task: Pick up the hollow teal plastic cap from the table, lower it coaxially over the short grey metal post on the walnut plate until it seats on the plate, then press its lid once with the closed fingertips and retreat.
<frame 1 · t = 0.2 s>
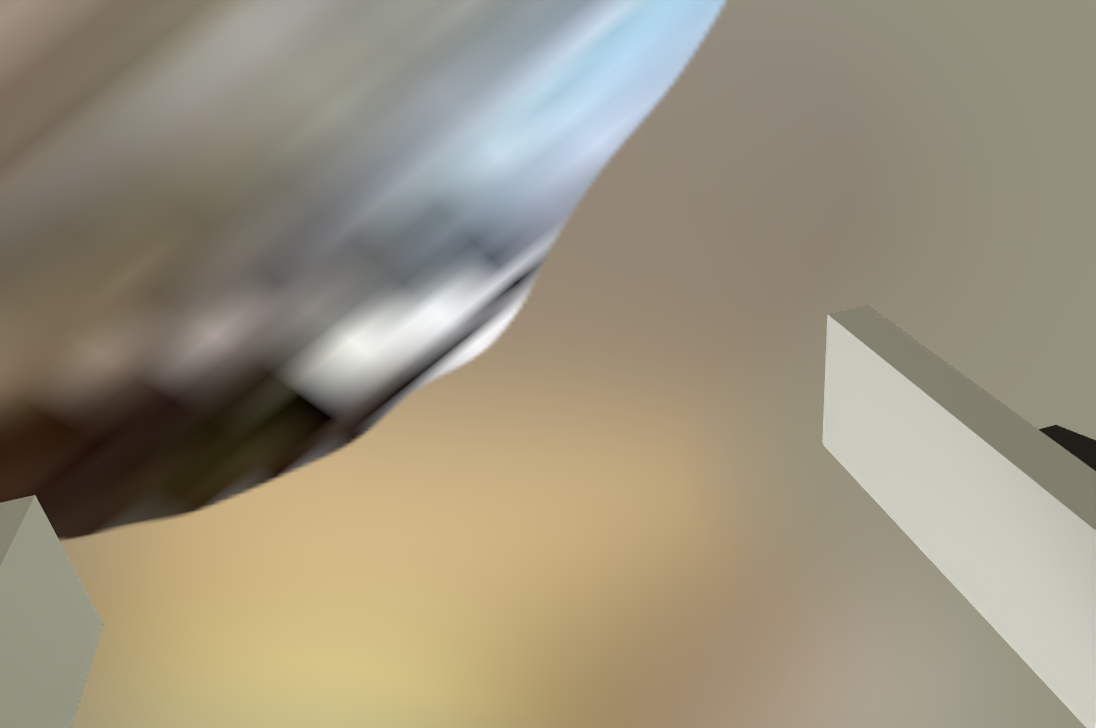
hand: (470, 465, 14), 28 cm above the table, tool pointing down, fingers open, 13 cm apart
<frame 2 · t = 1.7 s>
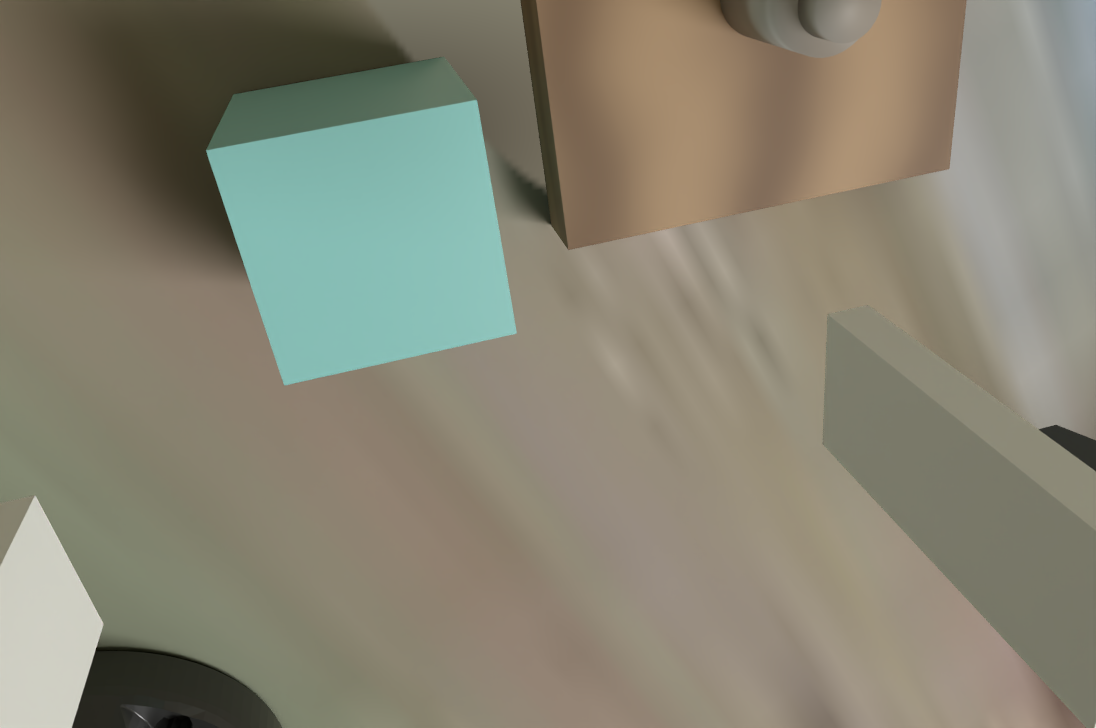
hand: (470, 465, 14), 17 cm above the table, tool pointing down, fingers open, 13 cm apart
cap: (365, 177, 29), on the table
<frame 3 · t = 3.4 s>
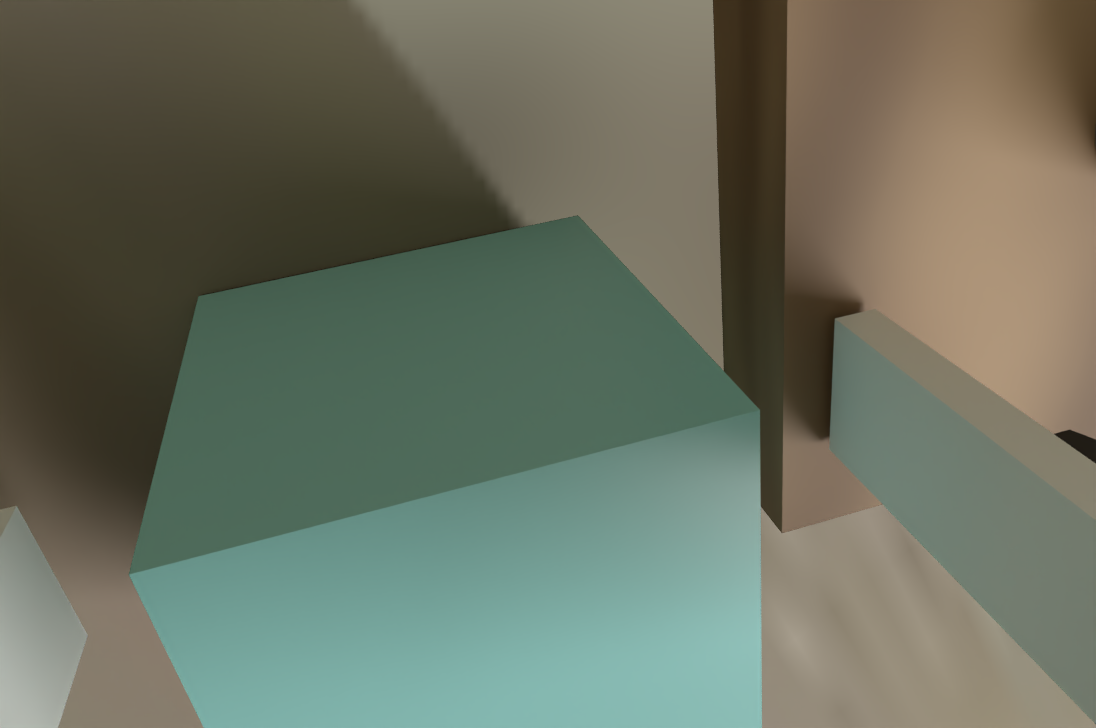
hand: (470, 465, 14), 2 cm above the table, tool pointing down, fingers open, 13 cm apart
cap: (431, 414, 16), on the table
stand: (1054, 78, 17), on the table
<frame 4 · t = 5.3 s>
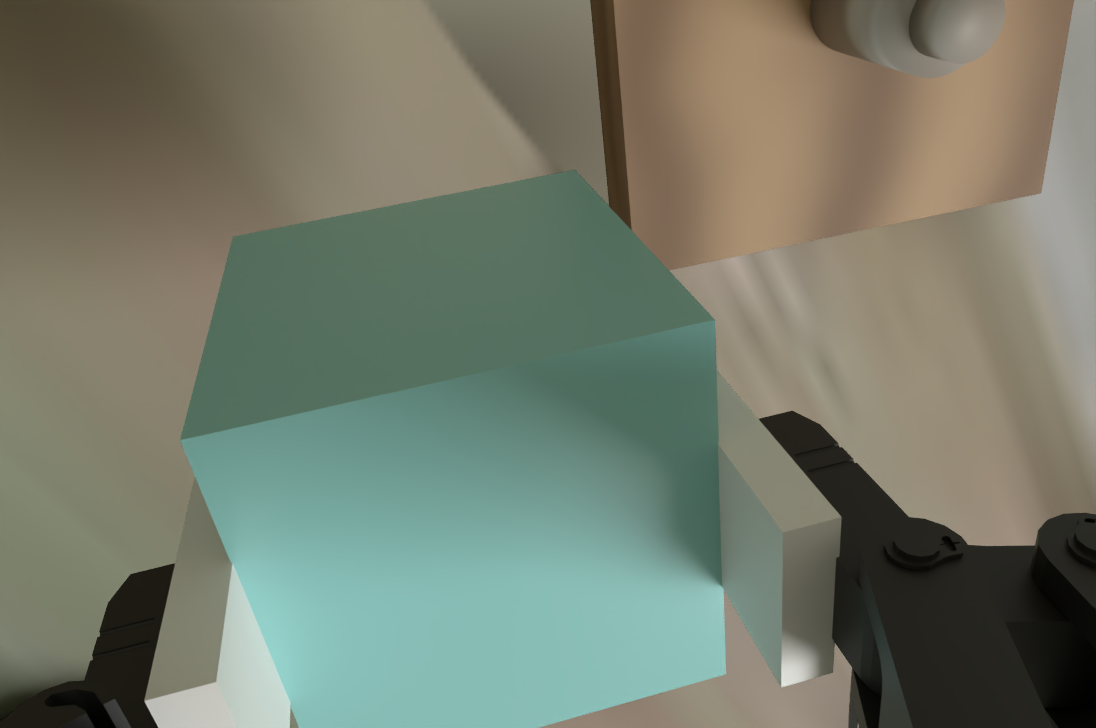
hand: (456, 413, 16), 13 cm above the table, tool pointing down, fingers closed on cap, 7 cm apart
cap: (440, 351, 18), point 10 cm above the table, touching gripper
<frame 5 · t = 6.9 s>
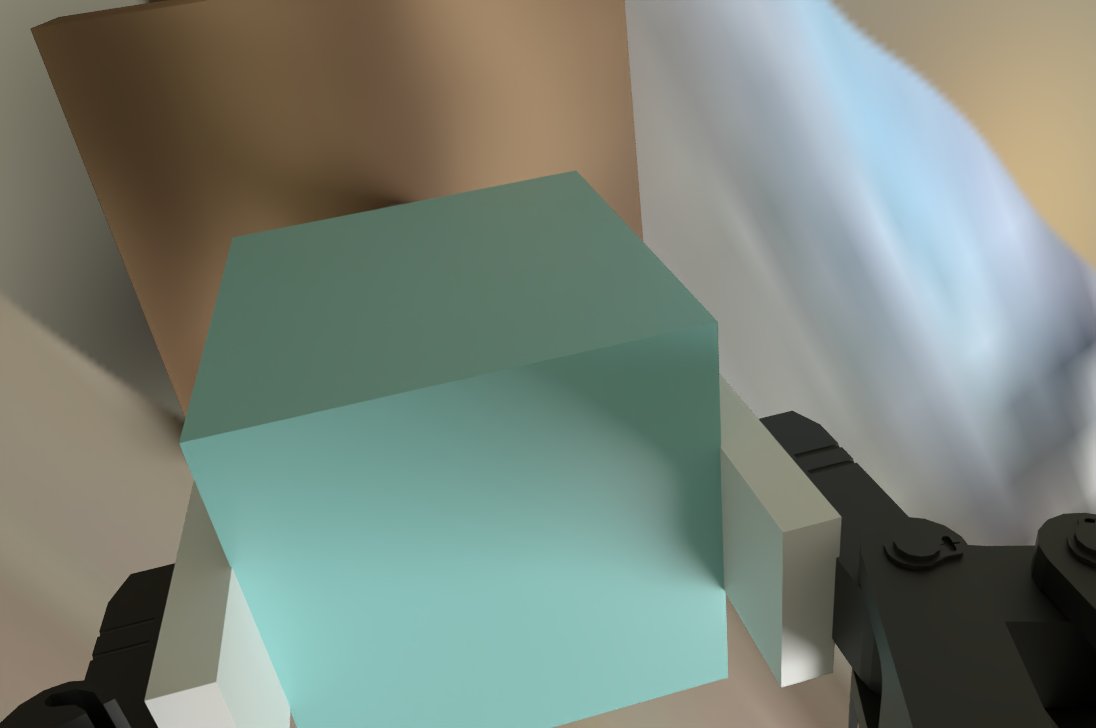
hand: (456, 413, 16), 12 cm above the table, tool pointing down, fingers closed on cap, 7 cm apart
cap: (441, 353, 18), point 9 cm above the table, touching gripper
stand: (393, 224, 26), on the table
when the fingers open (3 cm above the table, at t = 9.0 s): cap stays where it is, resting on stand.
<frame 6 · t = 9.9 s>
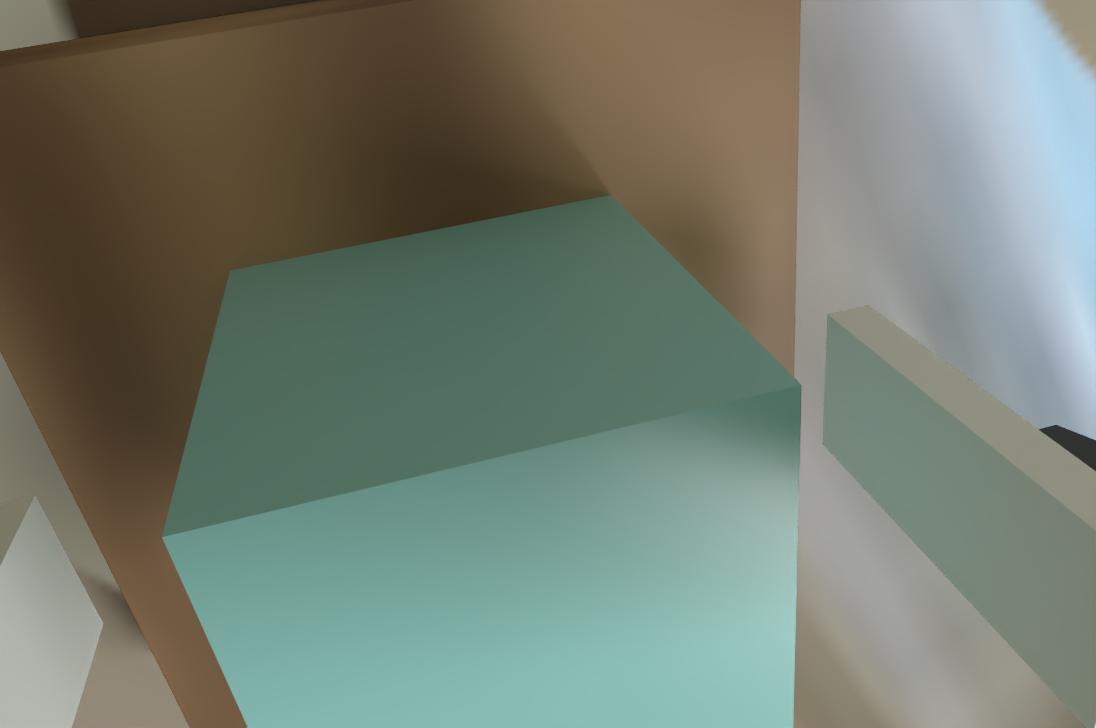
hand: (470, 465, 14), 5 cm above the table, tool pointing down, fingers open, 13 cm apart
cap: (460, 394, 16), point 2 cm above the table, touching stand
stand: (438, 342, 18), on the table
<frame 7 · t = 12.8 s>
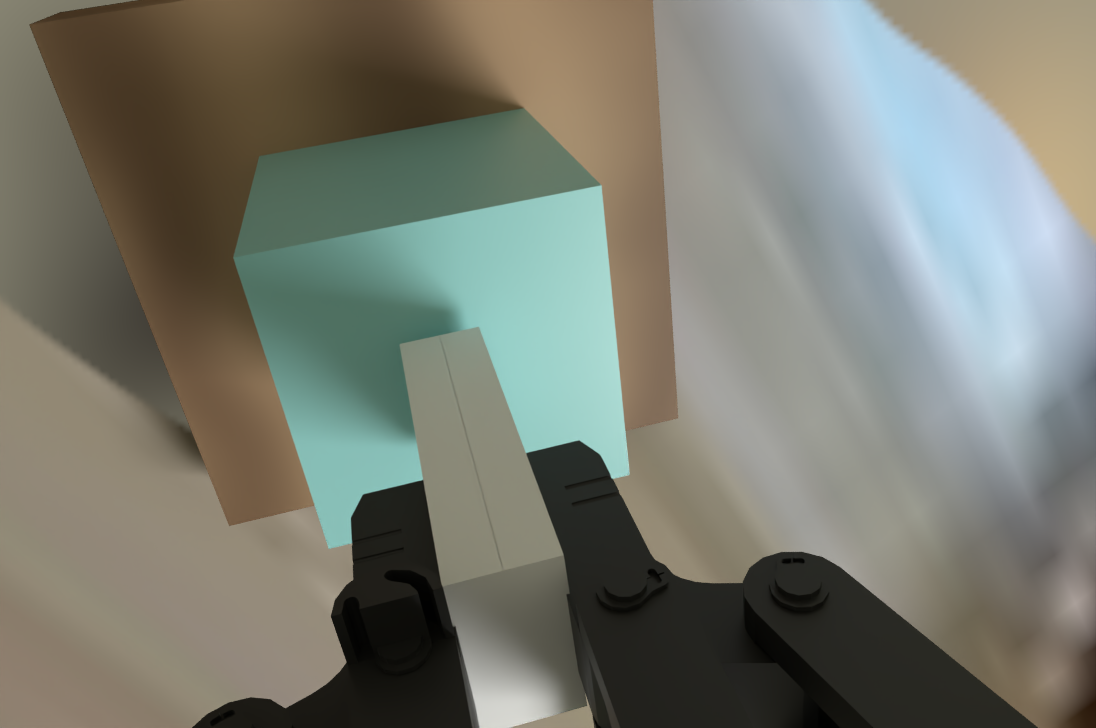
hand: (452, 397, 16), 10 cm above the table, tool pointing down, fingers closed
cap: (420, 255, 23), point 2 cm above the table, touching stand
stand: (408, 228, 25), on the table
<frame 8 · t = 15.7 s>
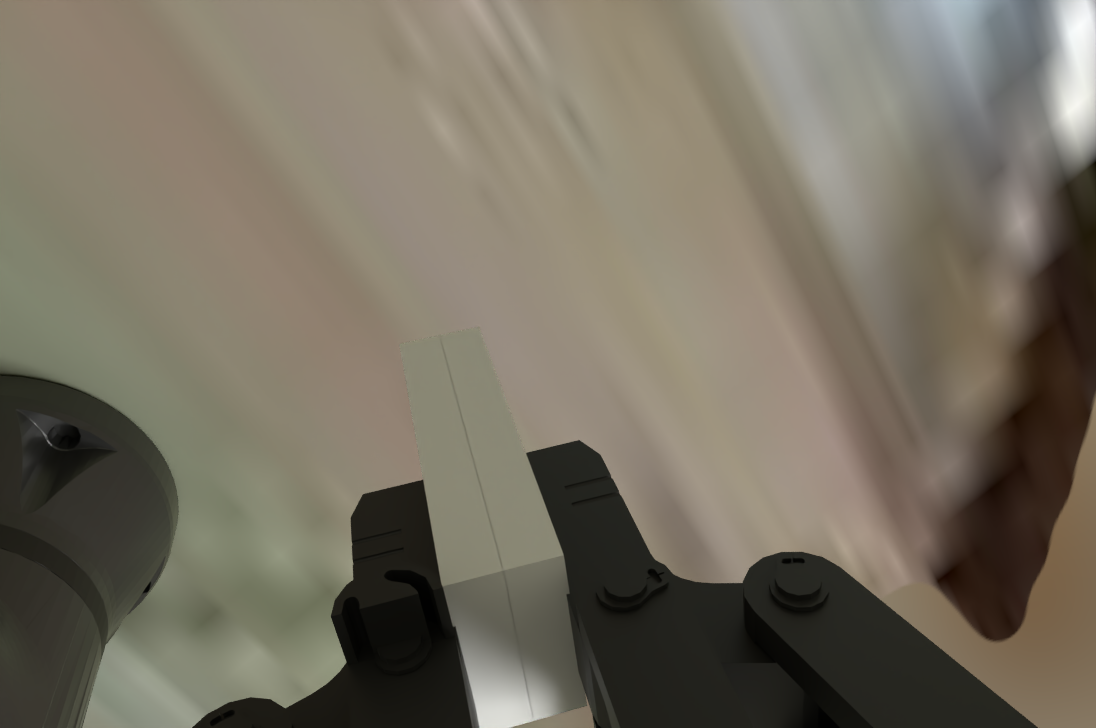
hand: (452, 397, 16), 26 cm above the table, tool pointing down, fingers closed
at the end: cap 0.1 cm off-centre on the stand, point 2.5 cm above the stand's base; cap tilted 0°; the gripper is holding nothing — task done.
